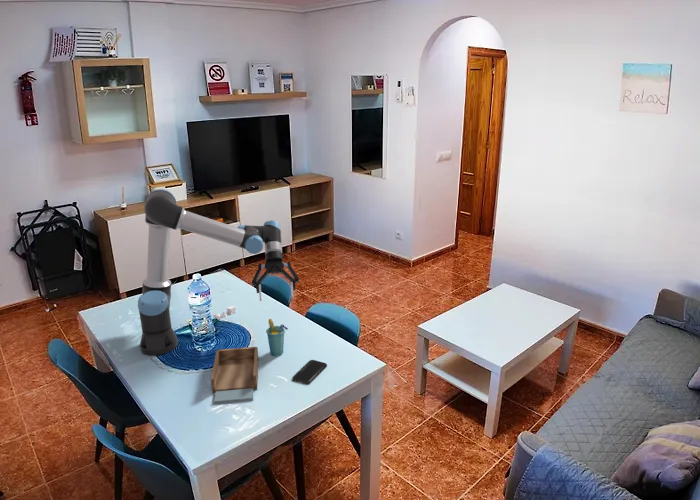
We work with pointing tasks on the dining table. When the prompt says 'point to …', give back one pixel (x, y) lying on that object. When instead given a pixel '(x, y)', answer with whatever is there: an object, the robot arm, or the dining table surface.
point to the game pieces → (229, 310)
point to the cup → (276, 338)
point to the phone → (309, 372)
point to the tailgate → (233, 395)
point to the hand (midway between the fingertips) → (276, 298)
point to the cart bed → (235, 369)
